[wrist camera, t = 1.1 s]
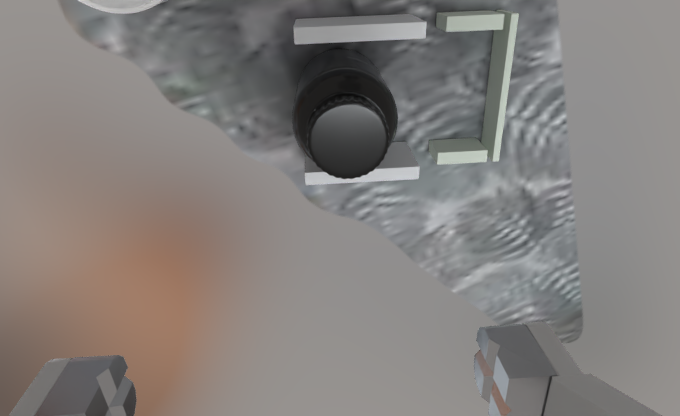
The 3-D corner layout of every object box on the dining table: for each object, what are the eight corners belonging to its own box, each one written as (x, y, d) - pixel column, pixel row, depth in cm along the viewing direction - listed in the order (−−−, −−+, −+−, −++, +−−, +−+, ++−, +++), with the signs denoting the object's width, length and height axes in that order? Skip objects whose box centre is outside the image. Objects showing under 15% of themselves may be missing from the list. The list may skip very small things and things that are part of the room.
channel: (295, 18, 34) (293, 27, 29) (410, 13, 34) (426, 21, 29) (306, 157, 39) (305, 185, 34) (405, 152, 39) (418, 178, 34)
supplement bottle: (381, 43, 35) (412, 78, 24) (382, 129, 38) (409, 192, 28) (292, 49, 35) (283, 85, 24) (299, 135, 38) (295, 200, 27)
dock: (436, 12, 34) (447, 16, 31) (502, 9, 34) (518, 13, 32) (428, 151, 39) (437, 164, 37) (486, 147, 39) (498, 161, 37)
